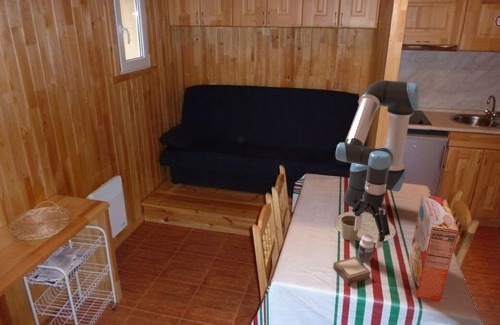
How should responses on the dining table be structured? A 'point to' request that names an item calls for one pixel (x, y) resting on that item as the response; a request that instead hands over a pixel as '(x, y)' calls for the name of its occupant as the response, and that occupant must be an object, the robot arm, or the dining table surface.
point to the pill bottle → (366, 248)
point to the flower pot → (348, 227)
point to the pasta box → (432, 247)
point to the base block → (351, 270)
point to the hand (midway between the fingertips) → (367, 238)
